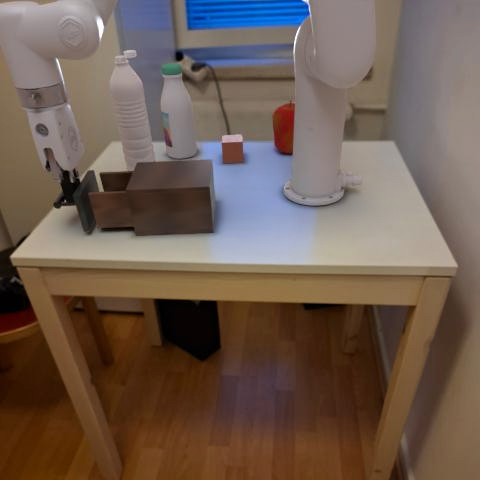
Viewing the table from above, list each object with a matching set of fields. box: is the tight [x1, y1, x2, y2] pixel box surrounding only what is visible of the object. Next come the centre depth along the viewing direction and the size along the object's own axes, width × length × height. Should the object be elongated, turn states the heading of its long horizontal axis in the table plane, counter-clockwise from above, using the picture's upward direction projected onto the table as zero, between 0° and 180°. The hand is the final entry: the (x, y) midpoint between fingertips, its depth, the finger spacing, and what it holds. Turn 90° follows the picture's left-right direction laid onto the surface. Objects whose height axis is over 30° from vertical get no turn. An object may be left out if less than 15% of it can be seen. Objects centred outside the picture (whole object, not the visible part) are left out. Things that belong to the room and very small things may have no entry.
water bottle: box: [108, 49, 157, 171], centre depth 92 cm, size 9×6×25 cm
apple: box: [271, 99, 295, 155], centre depth 106 cm, size 9×8×12 cm
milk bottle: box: [159, 62, 198, 160], centre depth 104 cm, size 8×8×20 cm
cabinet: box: [126, 159, 216, 237], centre depth 83 cm, size 15×12×9 cm
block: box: [221, 134, 244, 164], centre depth 106 cm, size 5×5×5 cm
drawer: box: [52, 169, 134, 233], centre depth 83 cm, size 18×11×7 cm, turn 91°
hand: (75, 200), depth 83 cm, fingers closed
